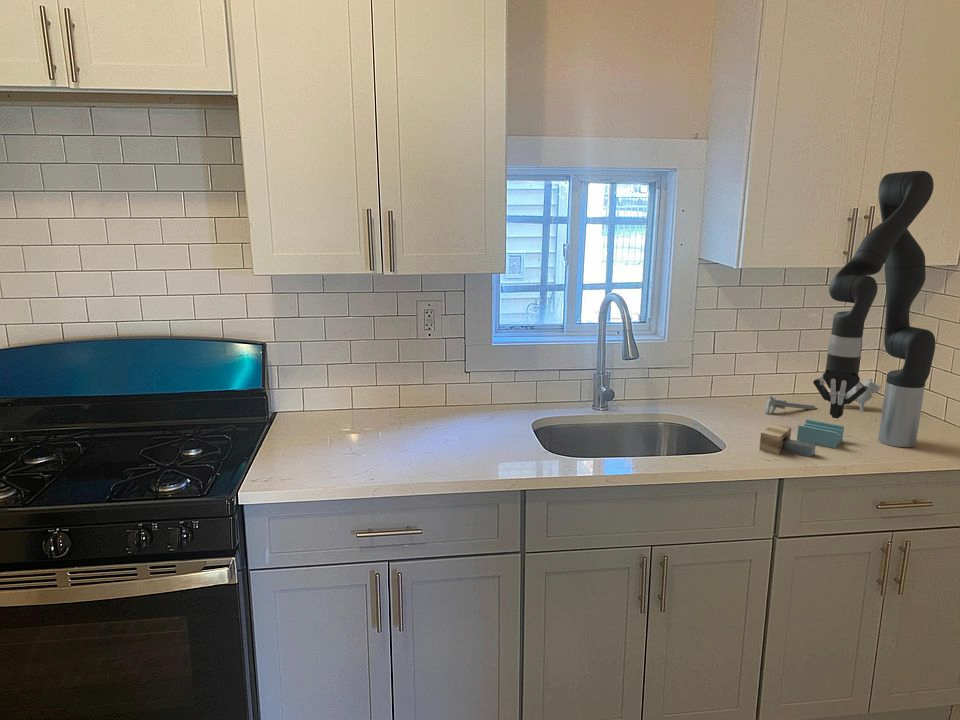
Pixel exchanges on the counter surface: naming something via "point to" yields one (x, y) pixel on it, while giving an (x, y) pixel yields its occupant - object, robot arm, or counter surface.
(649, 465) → the counter surface
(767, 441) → the bore block
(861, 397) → the dog figurine
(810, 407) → the caliper
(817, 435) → the block
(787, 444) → the metal bar
